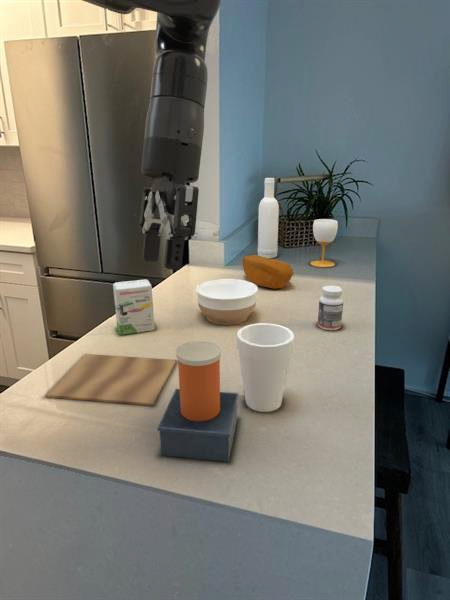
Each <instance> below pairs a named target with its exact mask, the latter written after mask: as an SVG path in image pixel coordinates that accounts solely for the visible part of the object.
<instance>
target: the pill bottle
mask: <svg viewBox="0 0 450 600" xmlns="http://www.w3.org/2000/svg"><path fill="white" fill-rule="evenodd" d="M321 294H322V295H321V296H320V297H319V301H318V313H317V326H318V327H319V328H320V329H322V330H326V331H338V330H339V329H340V328H342V324H343V323H342V320H343V311H344V298H343V297H342V294H343V288H342V287H341V286H337V285H324V286H322V289H321Z"/></svg>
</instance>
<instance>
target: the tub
mask: <svg viewBox="0 0 450 600" xmlns="http://www.w3.org/2000/svg"><path fill="white" fill-rule="evenodd" d="M175 353H176V360H177V365H178V366H177V367H178V386H179V388H178V389H180V409H181V414H182V415H183V416H184V417H185V418H187V419H189V420H192V421H206V420H210V419H212V418H214V417H216V416H217V415H218V414H219V412H220V392H221V370H220V369H221V368H220V367H221V366H220V365H221V364H220V363H221V362H220V360H221V359H220V358H221V356H222V350H221V347H220V346H219V345H218V344H216V343H215V342H211V341H209V340H193V341H188V342H185V343H183V344H181V345H179V346H178V347H177V349H176V351H175Z"/></svg>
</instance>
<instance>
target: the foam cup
mask: <svg viewBox="0 0 450 600" xmlns="http://www.w3.org/2000/svg"><path fill="white" fill-rule="evenodd" d="M294 339H295V333H294V332H293V331H292V330H291V329H290V328H288V327H285V326H283V325H280V324H276V323H270V322H264V323H263V322H262V323H260V322H259V323H257V322H256V323H251V324H247V325H245V326H243V327H241V328H240V329H238V331H237V334H236V349H237V350H238V357H239V363H240V372H241V379H242V387H243V394H244V399H245V403H246V405H247V407H248V408H250V409H251V410H252V411H257V412H261V413H265V412H266V413H267V412H269V413H270V412H273V411H276V410H278V409H279V408H280V407H281V406H282V402H283V397H284V392H285V386H286V382H287V377H288V373H289V371H288V370H289V367H290V361H291V357H292V355H291V354H292V353H293V352H294V351H293V350H294V342H295V341H294Z"/></svg>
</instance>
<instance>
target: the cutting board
mask: <svg viewBox="0 0 450 600" xmlns="http://www.w3.org/2000/svg"><path fill="white" fill-rule="evenodd" d="M176 363H177V359H166V358H150V357H137V356H123V355H118V356H117V355H105V354H91V353H90V354H89V353H84V355H83V356H82V357H81V358H80V359H79V360H78V361H77V362H76V363H75V364H74V365H73V367H71V368H70V369H69V370H68V371H67V372H66V373H65V374H64V375H63V376H62V377H61V379H59V381H58V382H57V383H55V385H54V386H53V387H52V388H51V389H50V390H49V391H48V392H47V393H46V394H45V397H46V398H53V399H66V400H76V401H77V400H78V401H87V402H88V401H91V402H103V403H115V404H125V405H126V404H127V405H138V406H149V407H150V406H151V407H153V406H154V404H155V402H156V401H157V399H158V398H159V395H160V393H161V392H162V389H163V388H164V386H165V384H166V382H167V380H168V378H169V377H170V374H171V372H172V370H173V369H174V366H175V365H176Z"/></svg>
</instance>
